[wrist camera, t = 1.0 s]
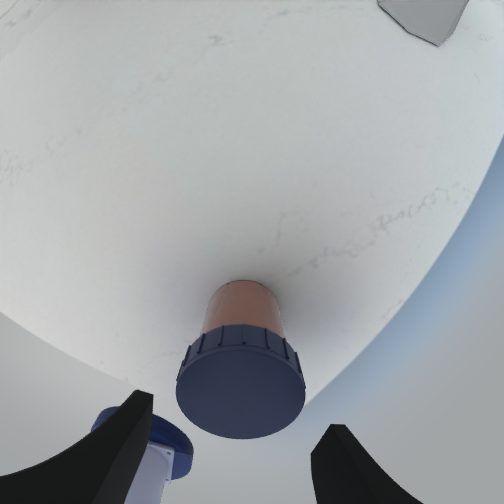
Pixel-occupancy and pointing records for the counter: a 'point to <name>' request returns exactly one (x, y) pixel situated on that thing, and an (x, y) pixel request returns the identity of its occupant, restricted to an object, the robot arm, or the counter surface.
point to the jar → (243, 307)
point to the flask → (427, 17)
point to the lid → (240, 382)
